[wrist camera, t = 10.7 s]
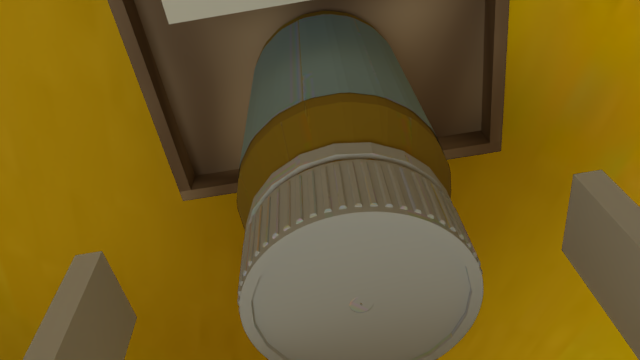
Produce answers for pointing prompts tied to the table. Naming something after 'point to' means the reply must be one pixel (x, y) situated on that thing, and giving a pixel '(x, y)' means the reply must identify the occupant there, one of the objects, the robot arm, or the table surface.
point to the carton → (213, 8)
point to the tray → (244, 50)
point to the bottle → (347, 205)
